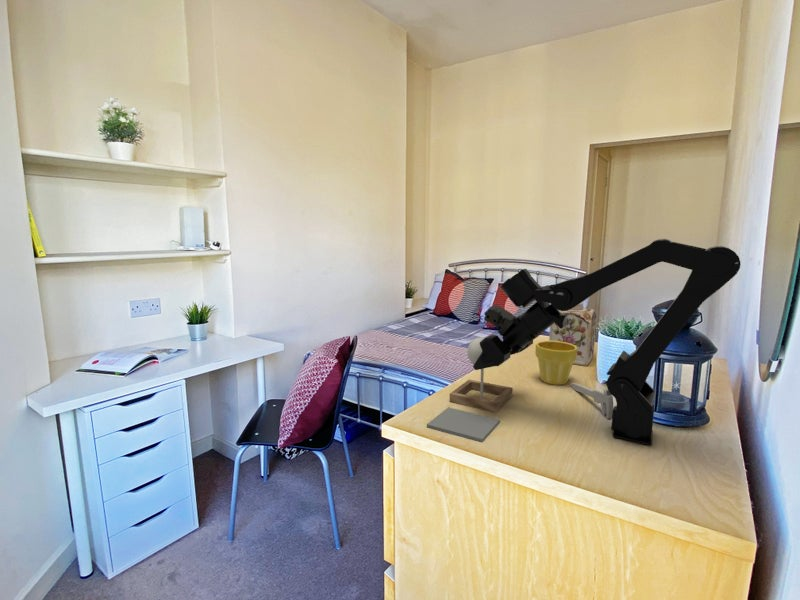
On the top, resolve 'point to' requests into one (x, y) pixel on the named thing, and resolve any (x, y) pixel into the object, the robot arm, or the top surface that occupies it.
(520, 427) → the top surface
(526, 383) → the top surface
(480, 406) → the brown wooden square frame
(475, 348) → the lollipop
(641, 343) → the robot arm
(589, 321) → the decorative jar
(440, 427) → the mat
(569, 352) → the plant pot
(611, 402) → the caliper
